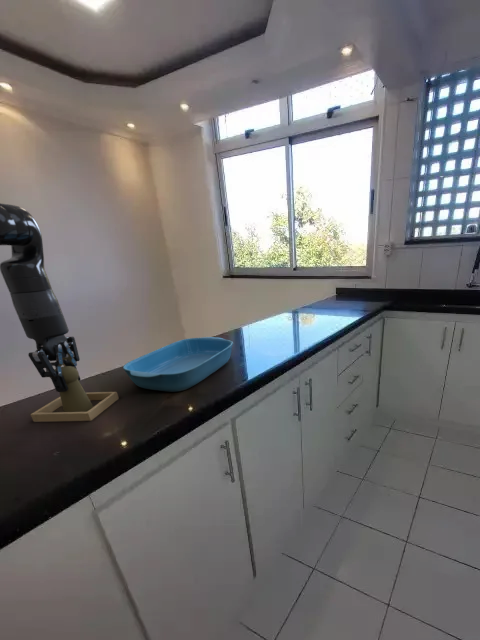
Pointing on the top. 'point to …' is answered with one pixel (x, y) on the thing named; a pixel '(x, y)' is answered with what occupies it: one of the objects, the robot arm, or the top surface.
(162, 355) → the casserole dish
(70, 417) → the wooden frame
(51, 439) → the top surface
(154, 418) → the top surface
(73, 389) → the olive knobbed cone
